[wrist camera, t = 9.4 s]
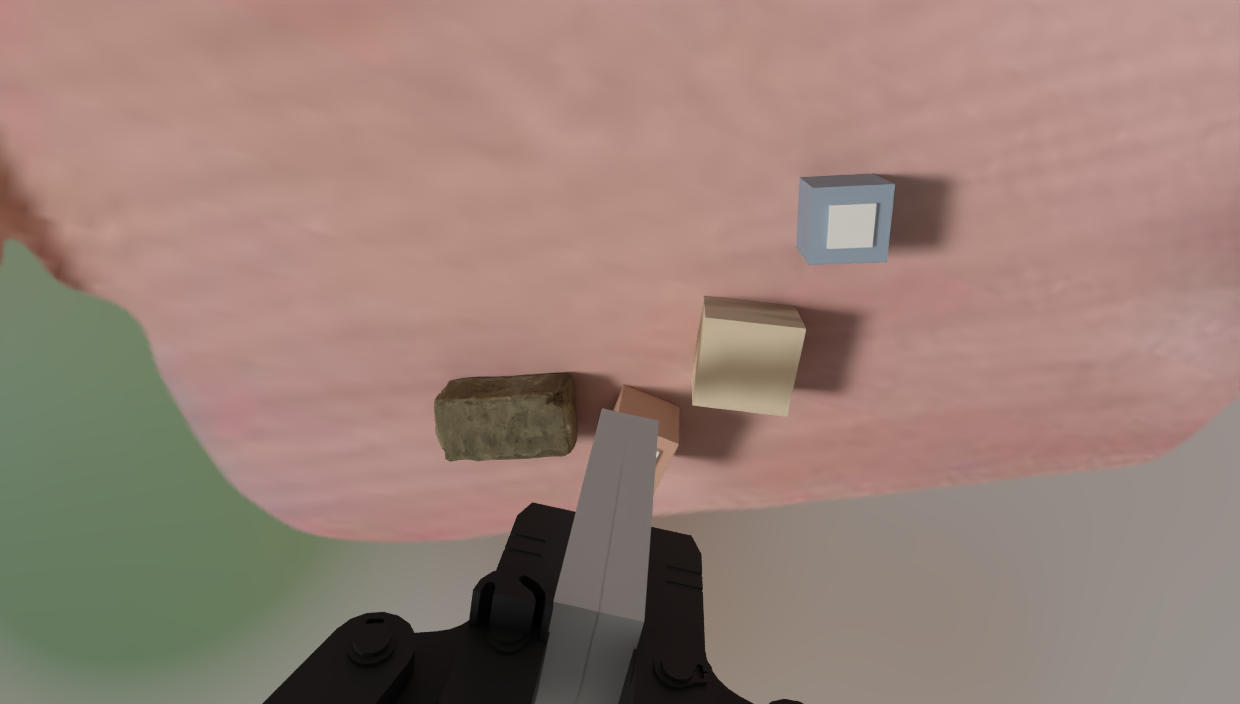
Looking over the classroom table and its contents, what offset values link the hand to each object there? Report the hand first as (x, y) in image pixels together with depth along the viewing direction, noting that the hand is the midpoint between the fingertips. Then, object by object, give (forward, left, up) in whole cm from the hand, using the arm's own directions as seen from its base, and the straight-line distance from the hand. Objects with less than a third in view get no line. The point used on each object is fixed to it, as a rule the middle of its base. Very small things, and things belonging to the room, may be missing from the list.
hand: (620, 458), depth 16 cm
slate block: (-3, +12, -33) cm, 35 cm away
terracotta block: (+17, +2, -33) cm, 37 cm away
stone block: (+18, -9, -33) cm, 39 cm away
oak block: (+8, +8, -33) cm, 35 cm away
